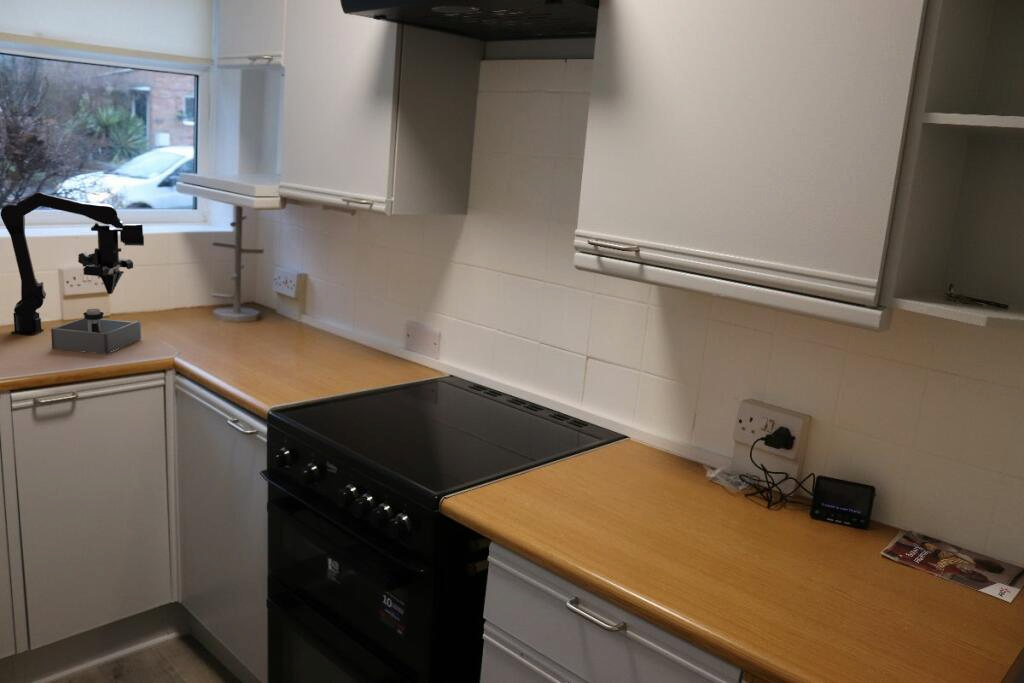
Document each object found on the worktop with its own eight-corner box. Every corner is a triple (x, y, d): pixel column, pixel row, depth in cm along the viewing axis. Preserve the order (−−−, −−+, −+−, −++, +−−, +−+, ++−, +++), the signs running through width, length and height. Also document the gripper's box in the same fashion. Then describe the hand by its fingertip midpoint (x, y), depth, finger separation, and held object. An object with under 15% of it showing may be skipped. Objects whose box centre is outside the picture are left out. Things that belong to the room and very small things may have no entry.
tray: (90, 333, 255) (90, 317, 253) (141, 338, 254) (140, 322, 253) (54, 346, 237) (54, 330, 236) (109, 352, 236) (108, 335, 235)
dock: (88, 334, 254) (87, 316, 252) (139, 339, 253) (139, 321, 251) (52, 348, 236) (51, 328, 235) (107, 354, 235) (106, 334, 234)
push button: (89, 346, 238) (87, 313, 236) (76, 343, 240) (75, 310, 238) (108, 342, 244) (107, 310, 242) (96, 339, 246) (95, 307, 244)
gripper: (100, 239, 264) (102, 286, 268) (65, 246, 246) (68, 296, 250) (133, 242, 264) (134, 289, 267) (100, 249, 246) (102, 299, 249)
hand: (110, 293), depth 259 cm, fingers closed
